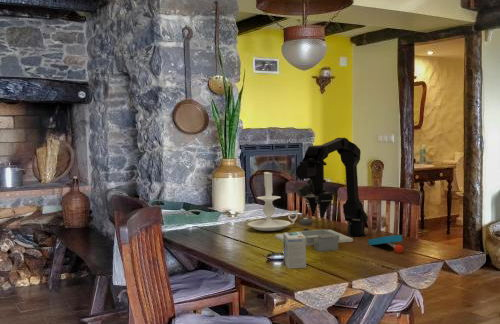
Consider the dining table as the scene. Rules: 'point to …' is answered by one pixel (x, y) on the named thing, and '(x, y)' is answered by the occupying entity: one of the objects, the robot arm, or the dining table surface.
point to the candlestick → (270, 210)
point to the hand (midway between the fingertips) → (317, 215)
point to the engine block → (325, 242)
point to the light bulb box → (294, 250)
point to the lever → (388, 242)
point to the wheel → (305, 221)
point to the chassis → (315, 233)
